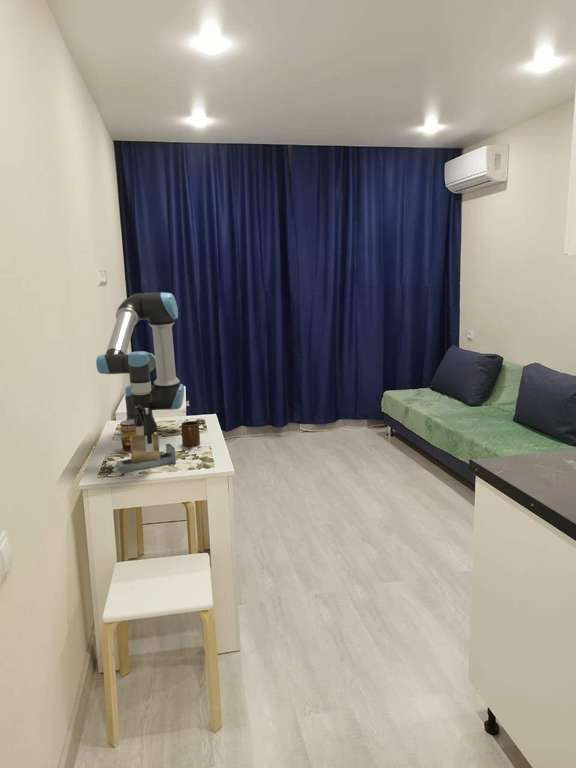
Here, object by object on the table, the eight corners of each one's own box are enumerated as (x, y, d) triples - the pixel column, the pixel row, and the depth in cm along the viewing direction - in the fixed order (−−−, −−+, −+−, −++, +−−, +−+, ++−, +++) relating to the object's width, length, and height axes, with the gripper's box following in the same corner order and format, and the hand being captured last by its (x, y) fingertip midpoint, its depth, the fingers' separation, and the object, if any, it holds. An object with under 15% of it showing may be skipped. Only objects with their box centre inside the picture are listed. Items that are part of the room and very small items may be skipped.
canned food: (119, 452, 236) (117, 424, 234) (125, 446, 244) (123, 419, 242) (138, 452, 236) (136, 424, 234) (143, 446, 244) (141, 419, 241)
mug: (199, 449, 237) (198, 427, 236) (181, 450, 236) (179, 428, 235) (200, 441, 249) (199, 420, 247) (182, 442, 248) (181, 421, 246)
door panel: (132, 466, 218) (130, 436, 216) (158, 461, 223) (155, 432, 221) (134, 468, 216) (131, 437, 214) (160, 463, 220) (158, 433, 218)
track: (116, 467, 217) (115, 452, 216) (170, 457, 227) (169, 443, 226) (120, 472, 211) (119, 457, 210) (175, 462, 221) (174, 448, 220)
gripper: (123, 388, 223) (127, 440, 227) (139, 400, 201) (143, 457, 205) (142, 386, 226) (146, 437, 230) (160, 397, 205) (164, 453, 209)
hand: (145, 447), depth 218 cm, fingers open, 13 cm apart
